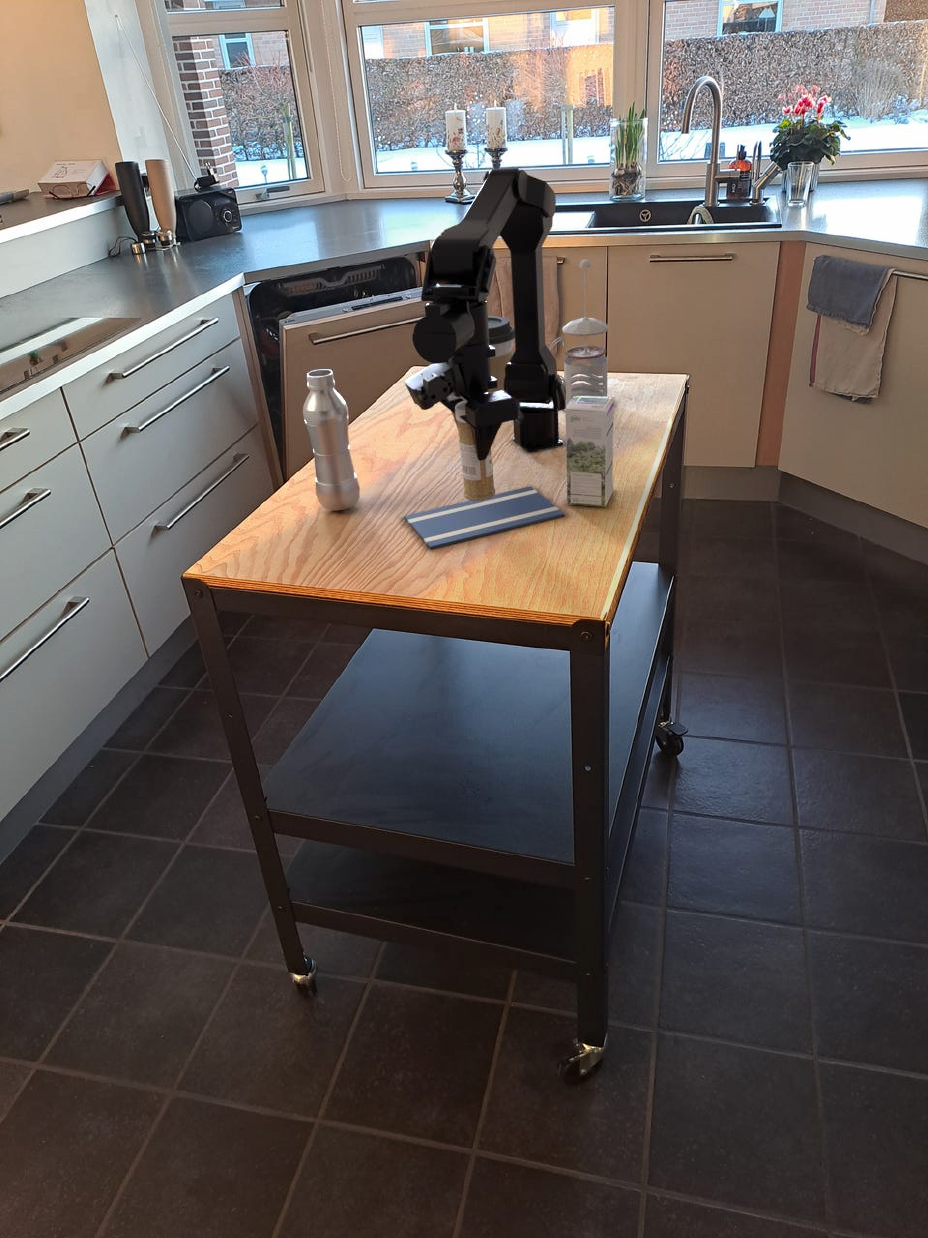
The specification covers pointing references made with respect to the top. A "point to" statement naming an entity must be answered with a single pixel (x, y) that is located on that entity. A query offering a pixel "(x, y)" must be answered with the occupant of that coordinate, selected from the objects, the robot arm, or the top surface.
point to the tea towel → (482, 517)
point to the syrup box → (589, 450)
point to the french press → (584, 356)
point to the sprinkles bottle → (473, 463)
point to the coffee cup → (500, 348)
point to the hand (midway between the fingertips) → (475, 454)
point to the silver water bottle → (330, 442)
